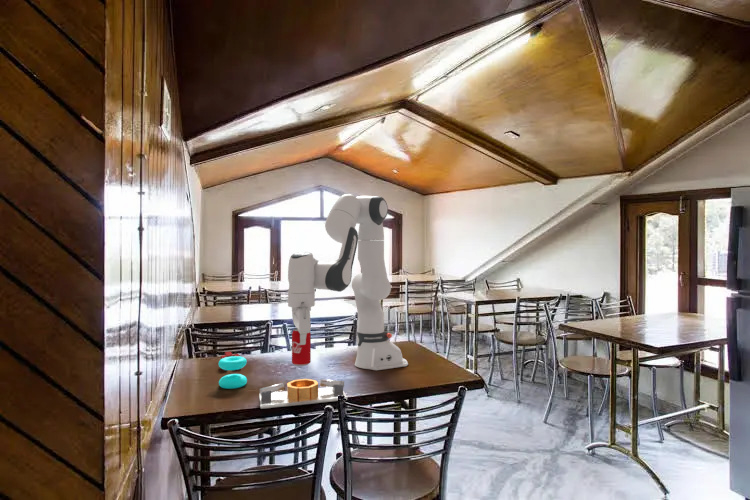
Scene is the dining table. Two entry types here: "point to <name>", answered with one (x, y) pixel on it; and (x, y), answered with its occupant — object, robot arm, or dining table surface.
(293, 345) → the beverage can
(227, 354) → the mechanical linkage
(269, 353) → the dining table surface
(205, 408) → the dining table surface
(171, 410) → the dining table surface
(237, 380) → the donuts
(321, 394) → the coupling base
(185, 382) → the dining table surface
